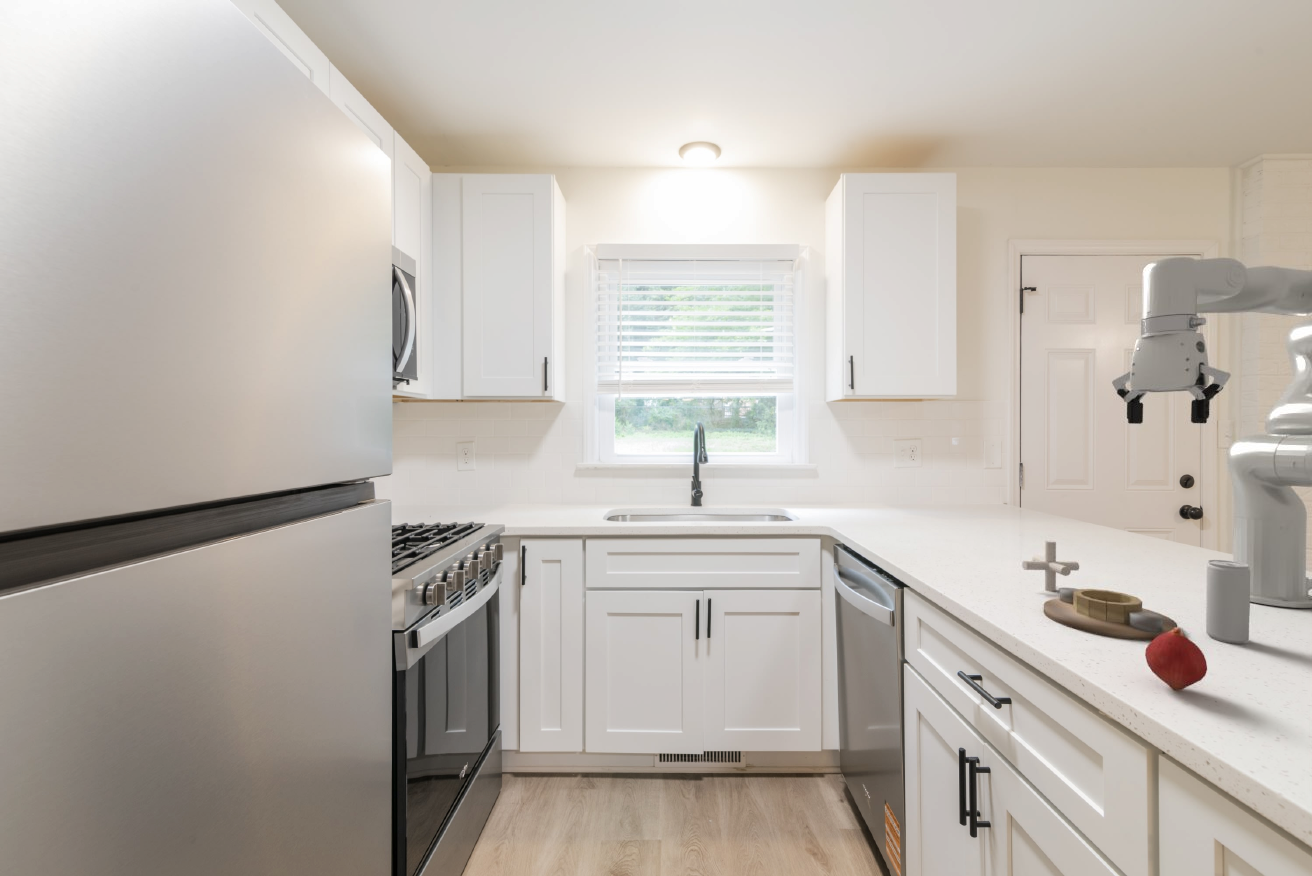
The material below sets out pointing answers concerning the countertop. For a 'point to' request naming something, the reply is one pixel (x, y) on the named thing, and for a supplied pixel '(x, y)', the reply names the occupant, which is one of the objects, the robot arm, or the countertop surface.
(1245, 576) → the beverage can
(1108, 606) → the carrier
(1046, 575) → the pipe connector
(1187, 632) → the countertop surface
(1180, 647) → the onion
